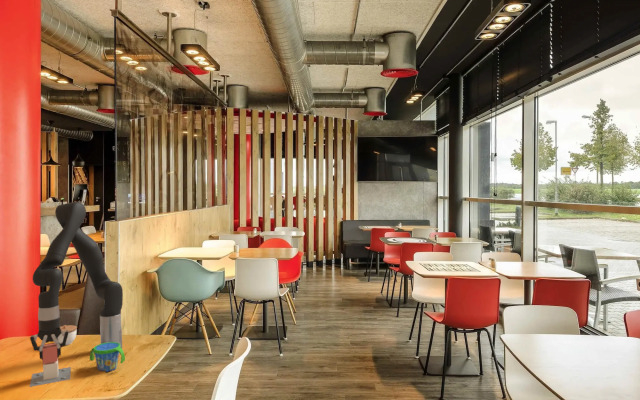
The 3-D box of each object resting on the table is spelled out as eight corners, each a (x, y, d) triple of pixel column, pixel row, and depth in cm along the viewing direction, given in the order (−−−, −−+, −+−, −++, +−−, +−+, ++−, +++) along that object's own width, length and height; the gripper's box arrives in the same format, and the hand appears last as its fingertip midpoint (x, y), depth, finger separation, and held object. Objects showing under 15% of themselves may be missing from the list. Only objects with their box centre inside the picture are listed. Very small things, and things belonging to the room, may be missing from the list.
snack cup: (131, 366, 196) (130, 343, 196) (113, 376, 186) (112, 352, 186) (102, 362, 201) (101, 340, 201) (83, 372, 191) (82, 348, 191)
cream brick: (58, 372, 188) (57, 358, 188) (57, 377, 184) (57, 362, 183) (44, 375, 186) (43, 361, 185) (43, 380, 181) (43, 365, 181)
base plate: (70, 369, 194) (70, 366, 194) (70, 381, 182) (70, 378, 182) (32, 376, 188) (32, 373, 188) (29, 389, 175) (29, 386, 175)
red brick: (57, 357, 188) (57, 343, 188) (57, 361, 183) (56, 346, 183) (43, 359, 186) (43, 345, 185) (42, 363, 181) (42, 349, 181)
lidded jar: (59, 349, 219) (59, 330, 218) (48, 344, 225) (47, 326, 224) (81, 342, 228) (80, 324, 227) (70, 338, 234) (69, 320, 233)
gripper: (69, 312, 191) (70, 352, 191) (29, 317, 184) (30, 358, 184) (68, 316, 184) (70, 357, 185) (27, 322, 177) (28, 364, 178)
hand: (50, 357), depth 184 cm, fingers closed on red brick, 4 cm apart
